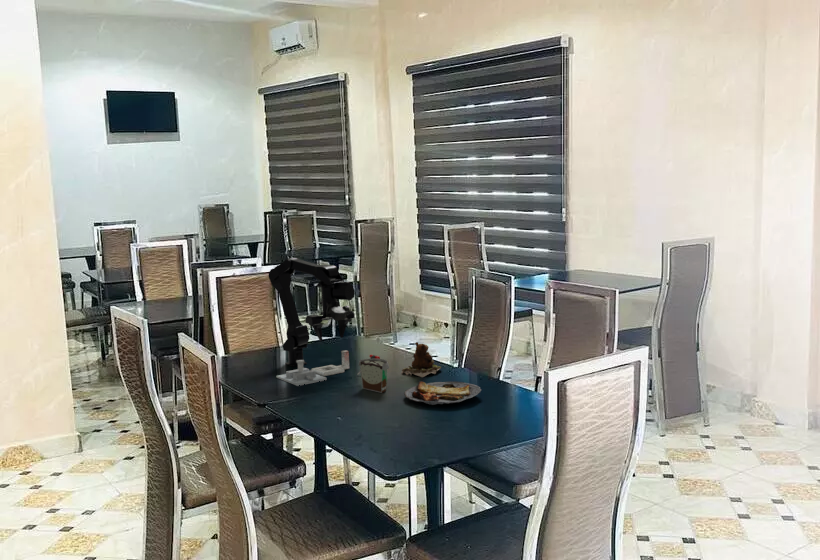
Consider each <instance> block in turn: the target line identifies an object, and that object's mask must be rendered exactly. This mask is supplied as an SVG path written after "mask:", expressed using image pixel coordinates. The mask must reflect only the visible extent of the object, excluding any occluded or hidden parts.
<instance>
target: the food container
mask: <svg viewBox="0 0 820 560" xmlns="http://www.w3.org/2000/svg"><path fill="white" fill-rule="evenodd" d="M358 366H359V367H360V370H361V373H360V377H361V384H362V389H363V390H368V391H372V392H376V393H382V394H383V393H384V392H386V391H387V383H388V382H387V381H388V370H389V368H390V365H389V362H388V361H387V360H386V359H383V358H380V359H376V358H372V359H370V358H364V359H363V358H362V359H359V361H358Z"/></svg>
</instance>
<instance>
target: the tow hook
mask: <svg viewBox="0 0 820 560" xmlns="http://www.w3.org/2000/svg"><path fill="white" fill-rule="evenodd" d="M372 358H376V359H381V356H378V355H375V354H369V359H372ZM356 374H357V375H358V376H359V375H361V369H360V370H359V371H358V373H356Z"/></svg>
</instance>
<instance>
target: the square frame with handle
mask: <svg viewBox="0 0 820 560" xmlns="http://www.w3.org/2000/svg"><path fill="white" fill-rule="evenodd" d="M340 352H341V364H339V365H334V364H329V365H324V366H319V367H318V366H317V367H313V368H311V369H310V370H313V371H316V374H317V375H320V376H323V377H326V376H333V375H336V374H337V375H338V374H343V373H345V370H349V369H350V353H349V350H346V349H345V350H341V351H340Z"/></svg>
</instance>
